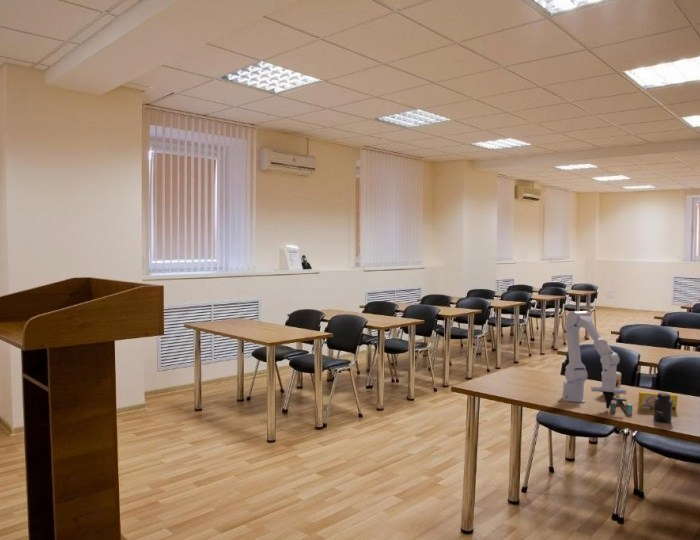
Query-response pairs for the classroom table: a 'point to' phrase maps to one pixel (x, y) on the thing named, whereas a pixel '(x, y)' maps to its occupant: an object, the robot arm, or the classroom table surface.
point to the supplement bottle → (663, 408)
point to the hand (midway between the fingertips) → (607, 408)
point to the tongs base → (623, 404)
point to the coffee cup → (617, 382)
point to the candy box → (653, 401)
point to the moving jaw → (613, 406)
